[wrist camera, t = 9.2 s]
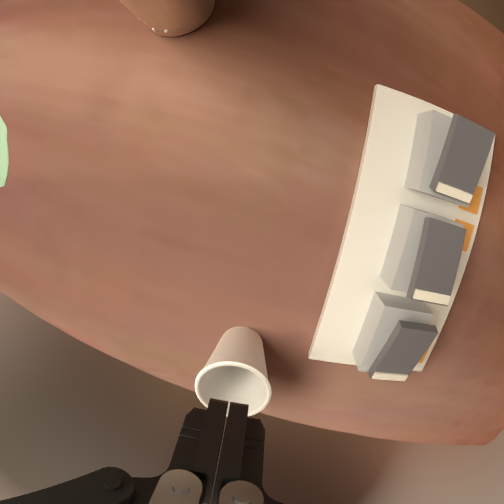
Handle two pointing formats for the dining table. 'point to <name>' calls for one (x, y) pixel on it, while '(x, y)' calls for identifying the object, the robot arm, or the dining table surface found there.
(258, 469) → the robot arm
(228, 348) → the dixie cup
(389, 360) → the rocker
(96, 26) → the dining table surface
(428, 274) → the rocker
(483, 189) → the switch unit
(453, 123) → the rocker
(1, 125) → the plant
